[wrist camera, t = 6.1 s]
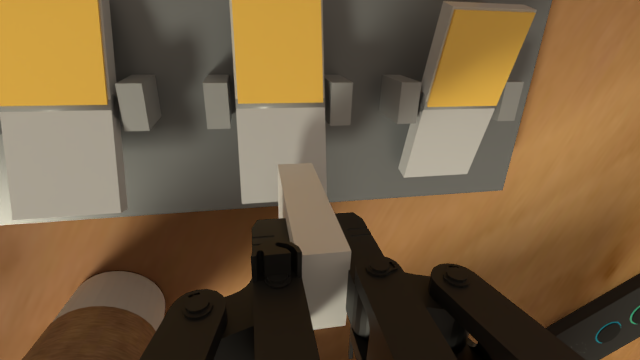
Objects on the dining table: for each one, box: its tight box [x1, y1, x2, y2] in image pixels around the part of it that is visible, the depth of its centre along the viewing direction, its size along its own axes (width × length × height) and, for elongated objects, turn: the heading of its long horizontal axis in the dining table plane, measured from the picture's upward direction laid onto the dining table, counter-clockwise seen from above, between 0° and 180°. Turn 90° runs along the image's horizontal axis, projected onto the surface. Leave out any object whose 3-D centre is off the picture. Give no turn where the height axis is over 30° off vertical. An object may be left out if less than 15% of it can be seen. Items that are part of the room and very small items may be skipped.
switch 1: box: [0, 0, 128, 220], centre depth 15 cm, size 4×9×1 cm, turn 178°
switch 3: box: [398, 1, 537, 178], centre depth 18 cm, size 4×9×1 cm, turn 178°
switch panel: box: [0, 0, 552, 225], centre depth 19 cm, size 30×13×6 cm, turn 88°
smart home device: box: [546, 274, 640, 360], centre depth 37 cm, size 8×2×20 cm
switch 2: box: [229, 0, 327, 204], centre depth 16 cm, size 4×9×1 cm, turn 178°
